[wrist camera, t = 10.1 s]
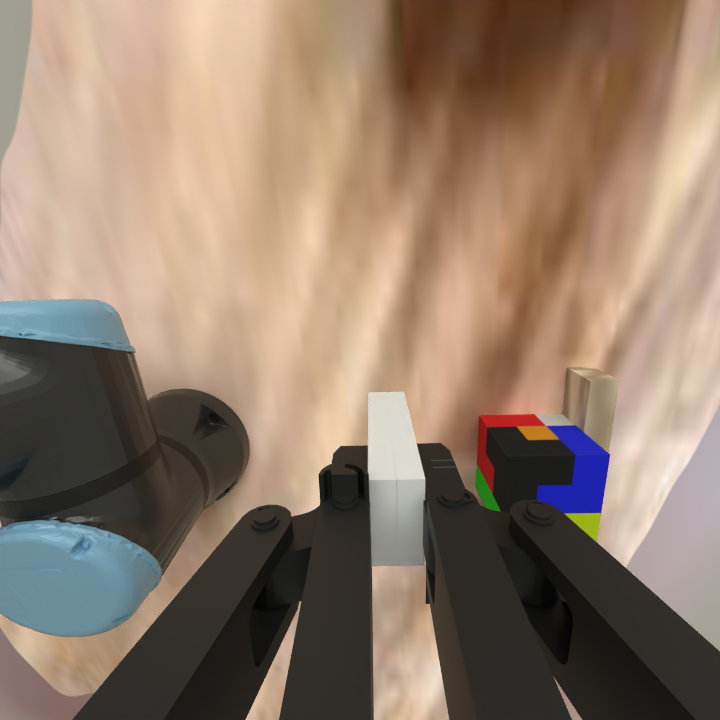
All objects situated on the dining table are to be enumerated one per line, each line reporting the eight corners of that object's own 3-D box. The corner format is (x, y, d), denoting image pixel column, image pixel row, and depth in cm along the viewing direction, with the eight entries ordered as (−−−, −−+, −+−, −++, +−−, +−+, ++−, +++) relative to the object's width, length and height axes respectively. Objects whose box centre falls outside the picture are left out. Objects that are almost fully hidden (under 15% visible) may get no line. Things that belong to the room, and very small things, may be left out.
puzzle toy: (561, 413, 48) (609, 454, 38) (553, 485, 51) (596, 540, 41) (479, 415, 48) (506, 456, 39) (475, 486, 51) (500, 541, 41)
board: (549, 525, 52) (567, 553, 47) (567, 367, 46) (590, 381, 41) (572, 525, 52) (592, 553, 47) (593, 367, 46) (619, 380, 41)
